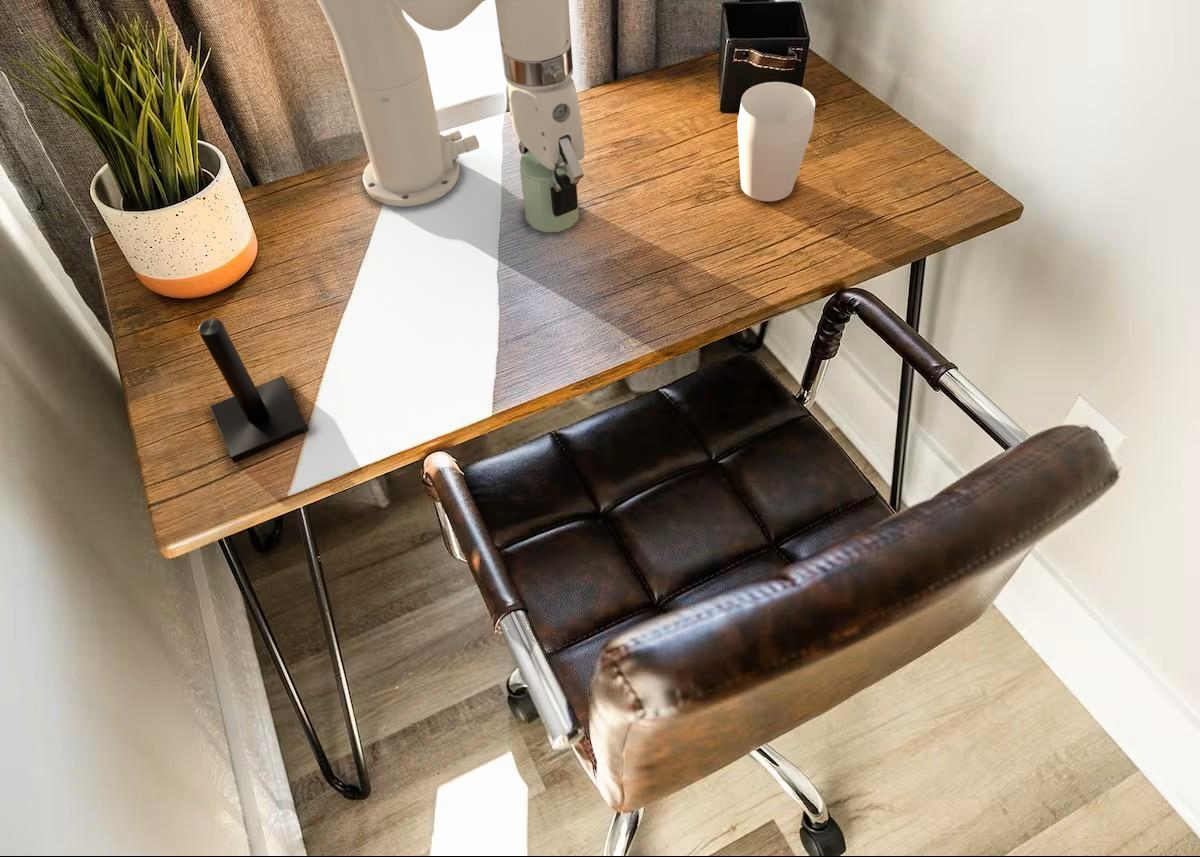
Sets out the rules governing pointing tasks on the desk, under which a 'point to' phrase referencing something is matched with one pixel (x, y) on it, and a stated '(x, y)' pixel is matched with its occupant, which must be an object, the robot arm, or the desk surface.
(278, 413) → the peg
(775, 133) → the cup
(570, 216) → the upturned cup
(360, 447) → the desk surface
